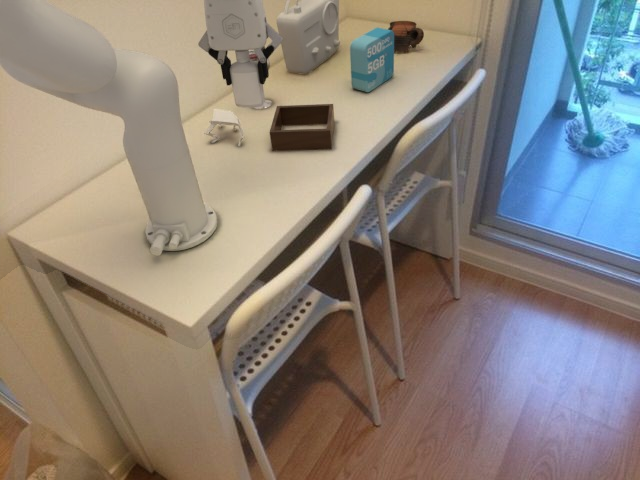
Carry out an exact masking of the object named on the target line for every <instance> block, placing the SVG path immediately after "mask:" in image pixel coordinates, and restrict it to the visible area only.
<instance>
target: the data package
mask: <svg viewBox="0 0 640 480" xmlns="http://www.w3.org/2000/svg"><path fill="white" fill-rule="evenodd" d="M349 55H350V56H349V57H350V59H349V60H350V79H351V82H350V83H351V87H352V89H354V90H359V91H362V92H365V93H370V92H371V91H373V90H375V89H376V88H377V87H379V86H380V85H381V86H382V85H383V84H384V83H385V82H387V81H389V80H390V79H391V78H392V77H393V75H394V72H395V69H394V68H395V51H394V32H393V31H392V30H388V28H387V29H386V28H382V27H375V28H373V29H371V30H370V31H368V32H365V33H364V34H362V35H360V36H358V37H357V38H354V39H353V40H352V41H351V43H350V47H349Z"/></svg>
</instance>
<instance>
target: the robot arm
mask: <svg viewBox="0 0 640 480" xmlns="http://www.w3.org/2000/svg"><path fill="white" fill-rule="evenodd" d="M203 5H204V18H205V25H206V26H205V27H206V30H205V32H204V33H203V35H202V37H201V38H200V39H199V41H198V42H197V46H198V47H199V48H201V49H202V50H203V51H204V52H206V53H208V55H209V56H210V57H212V58H213V59H214V60H215V61H216V62H217V64H218V65H220V70H221V75H222V79H223V80H225V82H226V83H225V84H226V86H232V82H231V77H230V70H229V69H230V66H231V65H232V59H231V58H230V57H228V53H229V52H231V51H234V52H235V51H236V50H249V51H253V50H254V51H255V53H256V55H257V57H258V60H259V61H258V64H257V66H258V73H259V80H260V84H263V85H265V83H266V81H267V79H269V76H270V73H269V70H268V64H267V59H269V58H270V57H271V56H272V55H273V53H274V51H276V49H278V48H279V46H281V43H282V40H283V38H282V37H281V36H280V35H279V32H278V31H276V30H275V28H273V27H272V26H271V25H270V24H269V23H268V20H267V14H266V11H265V7H264V2H263V0H203ZM267 39H270V40H271V42H270V43H269V44H268V45H267V46H265V45H266V44H267ZM0 66H1V68H2V69H3V70H4V71H5V72H6V73H7V75H9V76H10V77H11V78H13V79H14V80H16V81H18V82H19V83H21V84H24V85H25V86H28V87H30V88H33V89H35V90H38V91H40V92H43V93H45V94H49V95H51V96H52V97H53V96H54V97H56V98H59V99H61V100H64V101H67V102H68V103H72V104H74V105H76V106H80V107H83V108H86V109H89V110H90V109H91V110H93V111H97V112H101V113H105V114H109V115H110V114H111V115H112V116H115V117H119V118H120V119H121V120H122V121H123V124H124V130H123V136H122V147H123V151H124V153H125V157H126V159H127V162H128V164H129V167H130V169H131V172H132V175H133V178H134V180H135V183H136V186H137V187H138V191H139V193H140V194H139V195H140V196H141V199H142V202H143V204H144V207H145V210H146V212H147V215H148V219H149V220H148V222H147V224H146V226H145V229H144V232H145V236H146V239H147V241H148V242H149V244H150V245H151V246H150V248H149V252H150V254H152V255H153V256H160V255H162V253H163V251H167V252H168V251H169V252H176V251H177V252H178V251H182V250H183V251H184V250H187V249H191V248H194V247H197V246H199V245H200V244H202V243H204V242H205V241H207V240H208V239H209V238H210V237H211V236H212V235H213V234H214V233H215V231H216V229H217V227H218V216H217V213H216V211H215V210H214V208H212V207H211V206H209V205H208V204H205V203H204V199H203V195H202V192H201V188H200V184H199V181H198V177H197V173H196V170H195V165H194V163H193V158H192V155H191V152H190V148H189V145H188V141H187V138H186V134H185V130H184V125H183V122H182V115H181V107H180V91H179V83H178V82H179V81H178V79H177V76H176V74H175V72H174V71H173V69H172V67H170V65H169V64H168V63H166V62H165V61H164V60H163V59H161V58H159V57H157V56H155V55H153V54H150V53H146V52H142V51H137V50H131V49H124V48H117V47H113V46H112V44H111V43H110V41H109V40H108V39H107V37H106V36H105V35H104V34H103V33H102V32H100V31H99V30H98V29H97V28H95V26H93V25H91V24H89V23H88V22H86V21H84V20H82V19H81V18H78V17H76V16H74V15H72V14H70V13H68V12H67V11H65V10H63V9H62V8H60V7H58V6H56V5H54V4H53V3H51V2H49V1H47V0H0Z"/></svg>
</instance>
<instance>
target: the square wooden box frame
mask: <svg viewBox="0 0 640 480" xmlns="http://www.w3.org/2000/svg"><path fill="white" fill-rule="evenodd" d="M334 109H335V108H334V103H321V104H316V103H315V104H296V105H295V104H294V105H292V104H291V105H277V106H276V108H275V112H274V115H273V118H272V122H271V125H270V129H269V137H270V144H271V150H272V152H280V151H281V152H283V151H313V150H314V151H315V150H332V149H333V140H334V133H335V132H334V131H335V110H334ZM304 125H305V126H306V125H309V126H310V125H326V128H303V129H299V128H298V129H283V126H304Z"/></svg>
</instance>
